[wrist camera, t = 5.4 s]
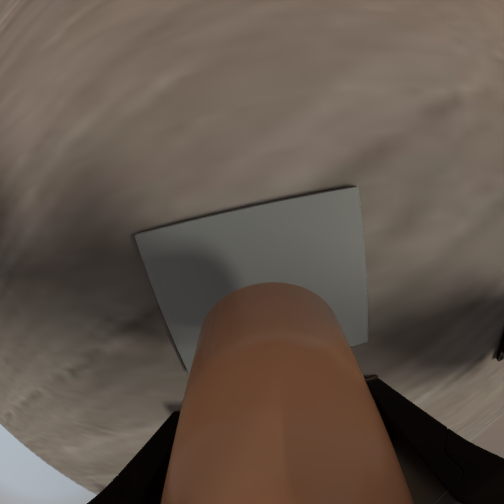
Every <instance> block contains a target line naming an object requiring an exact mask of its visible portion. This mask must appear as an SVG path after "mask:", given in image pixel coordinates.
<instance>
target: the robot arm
mask: <svg viewBox="0 0 504 504" xmlns="http://www.w3.org/2000/svg"><path fill="white" fill-rule="evenodd" d="M496 359H497V360H498V361H501V360H503V359H504V337H503V340H502V343H501V346H500V349H499V352H498V355H497V358H496ZM366 383H367V385H368V388H369V390H370V392H371V394H372V397H373V399H374V401H375V404H376V406H377V409H378V411H379V413H380V416H381V418H382V421H383V423H384V425H385V428H386V430H387V433H388V435H389V438H390V440H391V443H392V445H393V448H394V450H395V453H396V456H397V458H398V461H399V463H400V466H401V469H402V471H403V474H404V477H405V479H406V482H407V485H408V488H409V491H410V493H411V496H412V499H413V502H414V504H504V458H502V457H499V456H497V455H495V454H493V453H491V452H489V451H487V450H484V449H482V448H480V447H478V446H476V445H474V444H473V443H471V442H469V441H467V440H465V439H464V438H462V437H461V436H459V435H457V434H456V433H454V432H453V431H452V430H450V429H447V427H446V426H444V425H443V424H441V423H440V422H439V421H437V420H436V419H434V418H433V417H431V416H430V415H429V414H427V413H426V412H424V411H423V410H422V409H420V408H419V407H417V406H416V405H415V404H413V403H412V402H410V401H409V400H408V399H406V398H405V397H404V396H402V395H401V394H399V393H398V392H397V391H395V390H394V389H392V388H391V387H390V386H388V385H387V384H386V383H384V382H383V381H382V380H380V379H379V378H372V379H369V380H366ZM180 412H181V411H174V412H173V413H172V414H171V415H170V417H169V418H168V419H167V420H166V421H165V422H164V424H163V425H162V426H161V427H160V428H159V429H158V431H157V432H156V433H155V434H154V435H153V436H152V437H151V439H150V440H149V441H148V442H147V443H146V444H145V445H144V447H143V448H142V449H141V450H140V451H139V452H138V453H137V454H136V455H135V457H134V458H133V459H132V460H131V461H130V462H129V463H128V464H127V465H126V467H125V468H124V469H123V470H122V471H121V472H120V473H119V474H118V476H116V477H115V478H114V479H113V481H112V482H111V483H110V484H109V485H108V486H107V487H106V488H105V489H104V490H103V491H101V492H100V493H99V494H98V495H97V496H96V497H95V498H93V499H92V500H91V501H90V502H89V503H87V504H161V500H162V495H163V490H164V485H165V480H166V475H167V470H168V465H169V461H170V456H171V452H172V447H173V442H174V438H175V434H176V429H177V425H178V420H179V416H180Z"/></svg>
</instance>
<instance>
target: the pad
mask: <svg viewBox="0 0 504 504" xmlns="http://www.w3.org/2000/svg"><path fill="white" fill-rule="evenodd" d="M134 236H135V239H136V242H137V245H138V248H139V251H140V254H141V257H142V260H143V263H144V266H145V269H146V272H147V275H148V277H149V280H150V283H151V285H152V288H153V291H154V293H155V296H156V299H157V301H158V304H159V306H160V309H161V311H162V314H163V316H164V319H165V321H166V324H167V326H168V328H169V331H170V333H171V335H172V338H173V340H174V342H175V345H176V347H177V349H178V351H179V353H180V356H181V358H182V360H183V362H184V364H185V366H186V369H187V371H188V373H189V374H190V370H191V366H192V362H193V358H194V354H195V350H196V346H197V342H198V339H199V335H200V331H201V327H202V325H203V322H204V320H205V318H206V316H207V314H208V313H209V312H210V310H211V309H212V308H213V307H214V306H215V305H216V304H217V303H218V302H219V301H220V300H221V299H223V298H224V297H225V296H227V295H228V294H230V293H232V292H234V291H236V290H238V289H241V288H243V287H246V286H250V285H254V284H259V283H267V282H279V283H288V284H293V285H297V286H300V287H303V288H306V289H308V290H310V291H312V292H314V293H315V294H317V295H318V296H320V297H321V298H322V299H323V300H324V301H325V302H326V303H327V304H328V305H329V306H330V307H331V309H332V310H333V312H334V314H335V316H336V318H337V320H338V322H339V324H340V326H341V328H342V330H343V332H344V335H345V337H346V339H347V341H348V343H349V345H350V347H353V346H356V345H360V344H364V343H367V342H368V293H367V271H366V255H365V242H364V231H363V221H362V212H361V204H360V196H359V189H358V187H357V186H352V187H346V188H340V189H335V190H329V191H324V192H318V193H313V194H308V195H303V196H297V197H292V198H287V199H282V200H277V201H272V202H268V203H263V204H258V205H253V206H249V207H244V208H240V209H235V210H231V211H226V212H222V213H217V214H213V215H209V216H204V217H200V218H196V219H192V220H188V221H184V222H179V223H175V224H171V225H167V226H163V227H160V228H156V229H152V230H148V231H144V232H140V233H137V234H136V235H134Z"/></svg>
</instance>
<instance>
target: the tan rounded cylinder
mask: <svg viewBox="0 0 504 504" xmlns="http://www.w3.org/2000/svg"><path fill="white" fill-rule="evenodd" d="M161 504H414V502H413V499H412V496H411V493H410V491H409V488H408V485H407V482H406V479H405V477H404V474H403V471H402V469H401V466H400V463H399V461H398V458H397V456H396V453H395V450H394V448H393V445H392V443H391V440H390V438H389V435H388V433H387V430H386V428H385V425H384V423H383V421H382V418H381V416H380V413H379V411H378V409H377V406H376V404H375V401H374V399H373V397H372V394H371V392H370V390H369V388H368V385H367V383H366V381H365V378H364V376H363V374H362V372H361V369H360V367H359V365H358V363H357V361H356V358H355V356H354V354H353V352H352V350H351V347H350V345H349V343H348V341H347V339H346V337H345V335H344V332H343V330H342V328H341V326H340V324H339V322H338V320H337V318H336V316H335V314H334V312H333V310H332V309H331V307H330V306H329V305H328V304H327V303H326V302H325V301H324V300H323V299H322V298H321V297H320V296H318V295H317V294H315V293H314V292H312V291H310V290H308V289H306V288H303V287H300V286H297V285H293V284H288V283H279V282H267V283H259V284H254V285H250V286H246V287H243V288H241V289H238V290H236V291H234V292H232V293H230V294H228V295H227V296H225V297H224V298H223V299H221V300H220V301H219V302H218V303H217V304H216V305H215V306H214V307H213V308H212V309H211V310H210V312H209V313H208V314H207V316H206V318H205V320H204V322H203V325H202V327H201V331H200V335H199V339H198V342H197V346H196V350H195V354H194V358H193V362H192V366H191V370H190V374H189V378H188V382H187V387H186V391H185V395H184V399H183V403H182V408H181V412H180V416H179V420H178V425H177V429H176V434H175V438H174V442H173V447H172V452H171V456H170V461H169V465H168V470H167V475H166V480H165V485H164V490H163V495H162V500H161Z"/></svg>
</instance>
